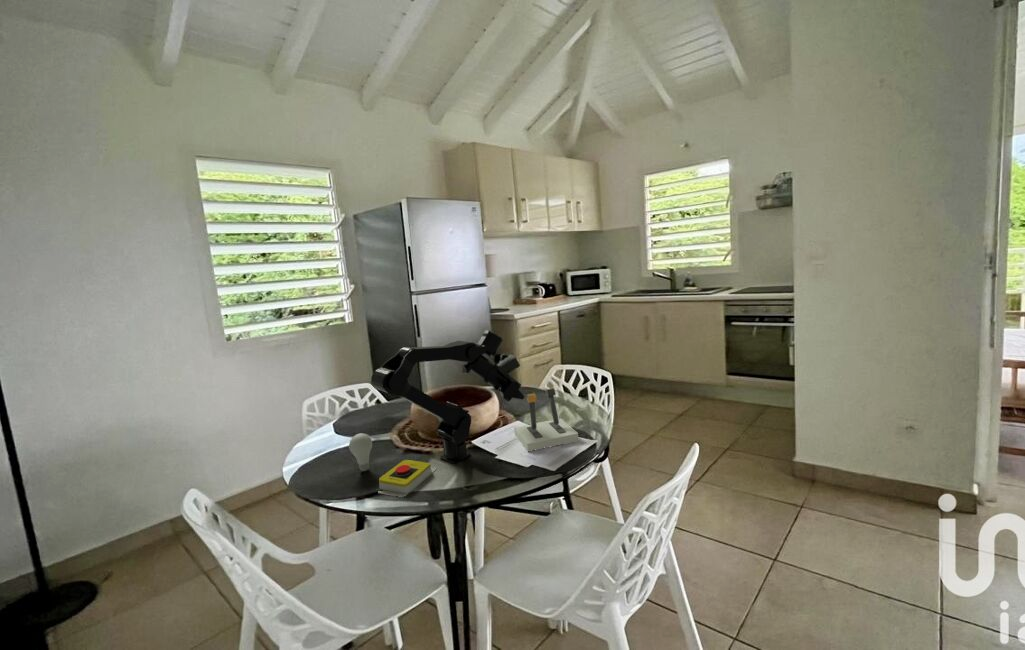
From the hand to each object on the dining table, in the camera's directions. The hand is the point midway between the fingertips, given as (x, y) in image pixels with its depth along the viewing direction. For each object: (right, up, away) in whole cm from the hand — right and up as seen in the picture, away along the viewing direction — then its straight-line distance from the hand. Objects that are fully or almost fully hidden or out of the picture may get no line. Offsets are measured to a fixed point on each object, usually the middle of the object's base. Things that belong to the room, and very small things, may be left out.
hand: (523, 397), depth 136 cm
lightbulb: (-45, -19, -14) cm, 51 cm away
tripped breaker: (+3, -9, -4) cm, 11 cm away
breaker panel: (+7, -12, -2) cm, 14 cm away
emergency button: (-31, -19, -21) cm, 42 cm away
